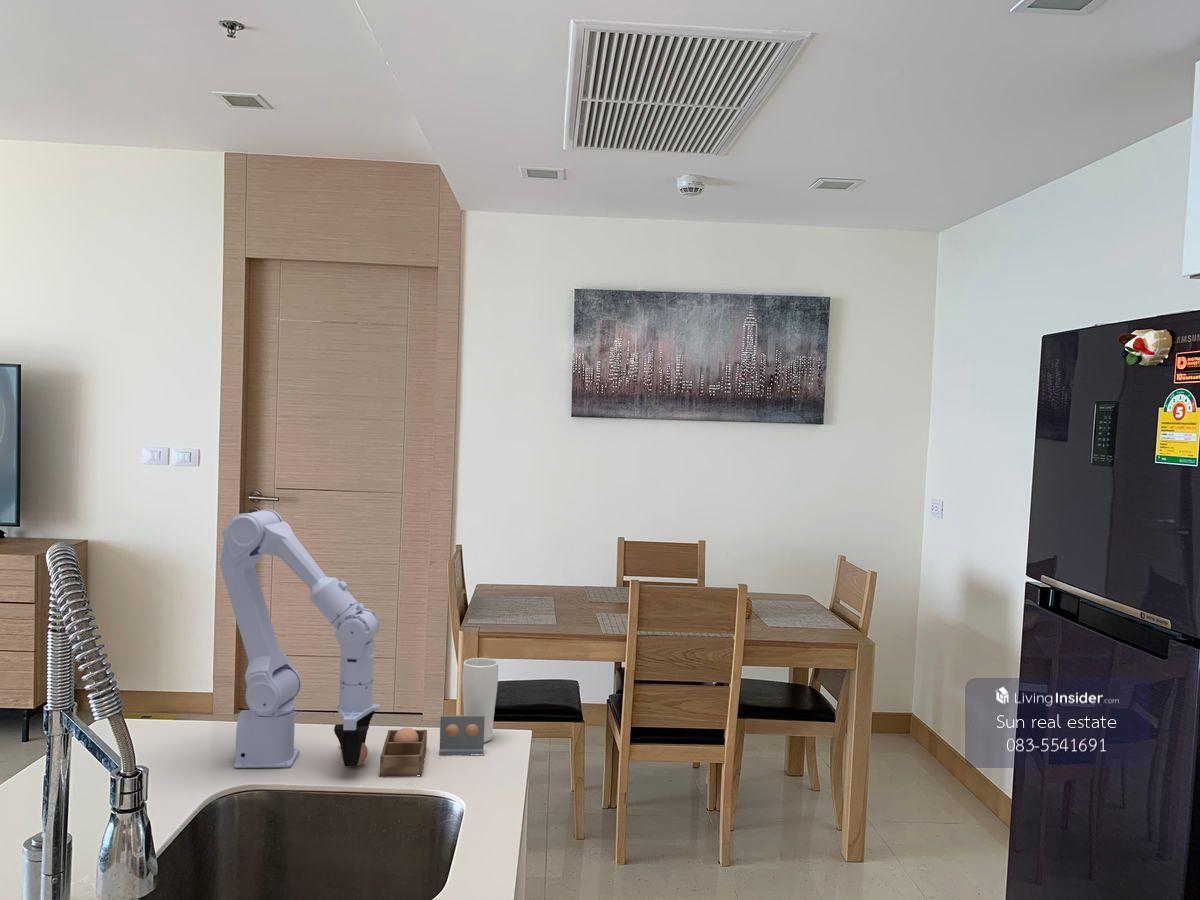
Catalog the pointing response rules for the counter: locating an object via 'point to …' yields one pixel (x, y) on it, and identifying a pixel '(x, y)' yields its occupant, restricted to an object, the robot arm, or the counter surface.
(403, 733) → the terracotta ball
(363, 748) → the terracotta ball
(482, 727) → the card
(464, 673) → the white tall tapered cylinder
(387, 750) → the pair tray
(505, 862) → the counter surface
